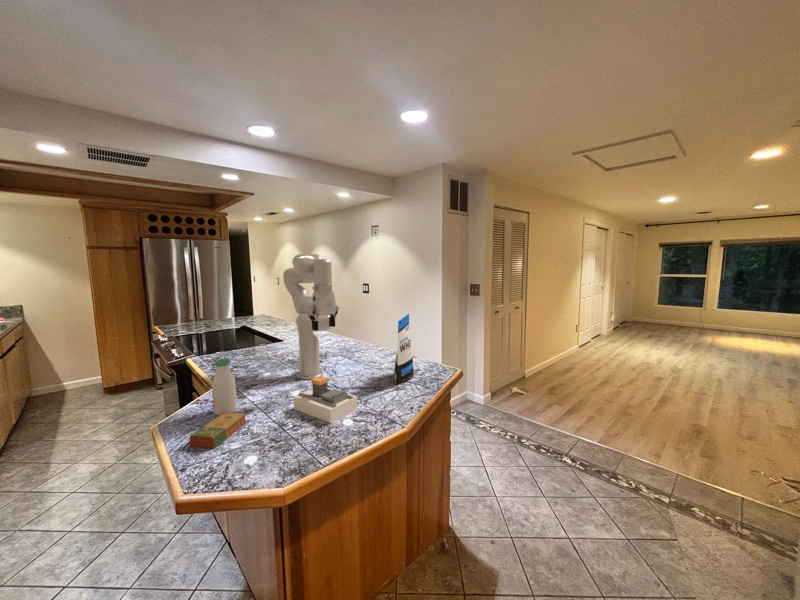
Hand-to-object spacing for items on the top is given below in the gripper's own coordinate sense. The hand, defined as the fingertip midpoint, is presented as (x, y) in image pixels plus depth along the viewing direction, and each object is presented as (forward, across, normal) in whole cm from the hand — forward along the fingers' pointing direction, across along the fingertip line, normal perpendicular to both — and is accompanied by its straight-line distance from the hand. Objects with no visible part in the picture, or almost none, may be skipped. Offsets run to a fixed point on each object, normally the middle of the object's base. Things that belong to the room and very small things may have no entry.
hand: (324, 328), depth 141 cm
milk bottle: (+28, -35, +17) cm, 48 cm away
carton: (+29, -45, +2) cm, 54 cm away
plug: (+27, -12, -10) cm, 31 cm away
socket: (+28, -12, -13) cm, 33 cm away
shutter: (+23, -12, -18) cm, 32 cm away
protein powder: (+29, +35, -18) cm, 49 cm away
